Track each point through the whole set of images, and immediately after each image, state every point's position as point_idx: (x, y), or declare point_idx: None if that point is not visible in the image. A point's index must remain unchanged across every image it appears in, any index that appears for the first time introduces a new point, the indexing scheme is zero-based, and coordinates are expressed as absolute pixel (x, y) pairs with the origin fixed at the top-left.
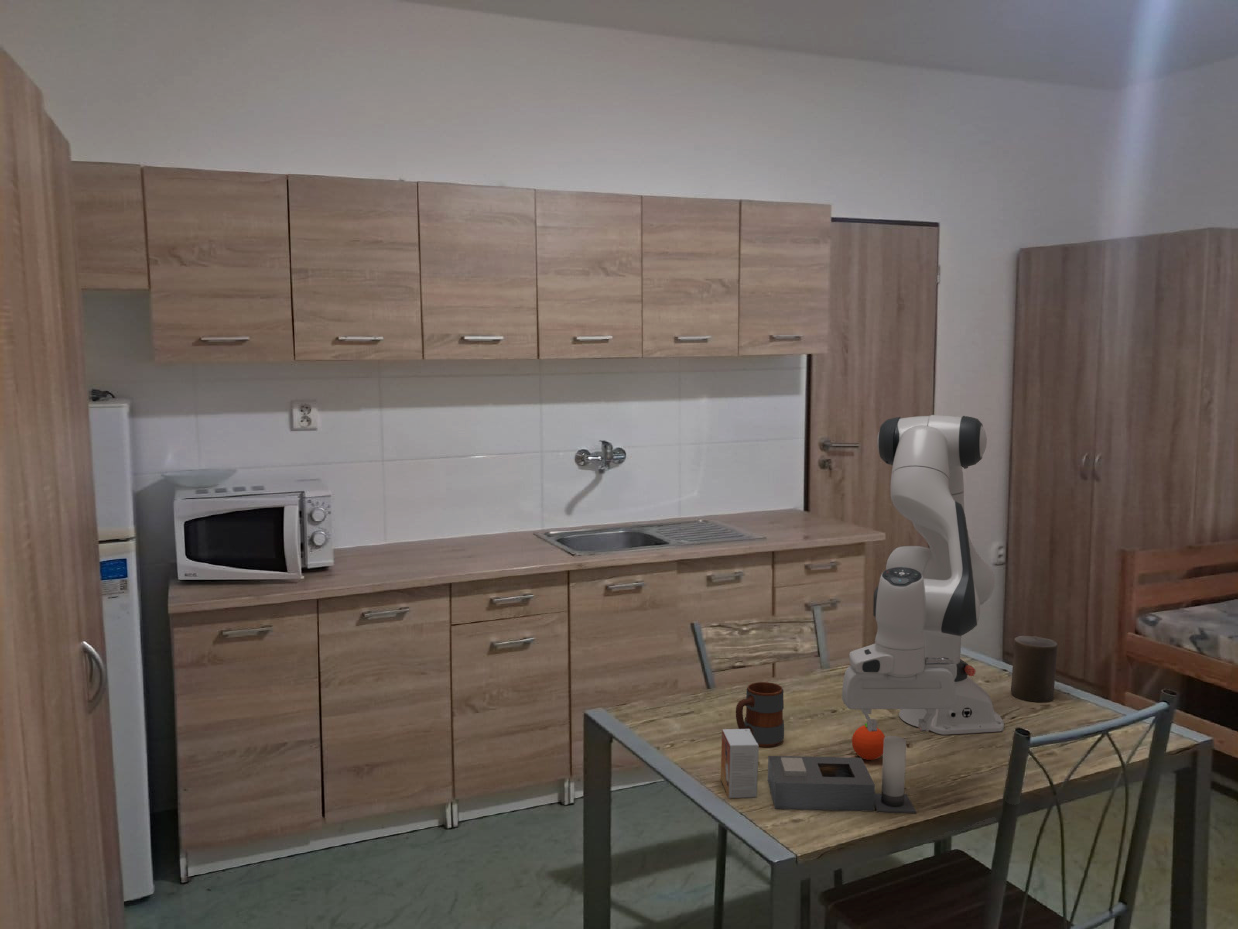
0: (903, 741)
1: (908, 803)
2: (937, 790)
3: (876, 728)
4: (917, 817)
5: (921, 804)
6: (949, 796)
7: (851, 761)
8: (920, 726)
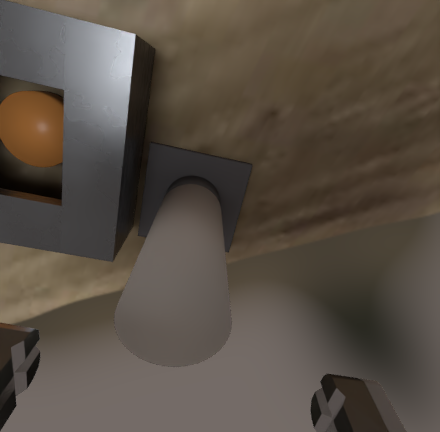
0: (209, 344)
1: (230, 215)
2: (354, 144)
3: (20, 392)
4: None
5: (265, 210)
6: (361, 182)
7: (80, 66)
8: (326, 417)
